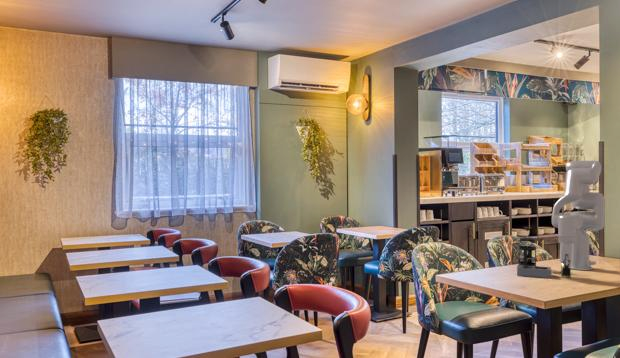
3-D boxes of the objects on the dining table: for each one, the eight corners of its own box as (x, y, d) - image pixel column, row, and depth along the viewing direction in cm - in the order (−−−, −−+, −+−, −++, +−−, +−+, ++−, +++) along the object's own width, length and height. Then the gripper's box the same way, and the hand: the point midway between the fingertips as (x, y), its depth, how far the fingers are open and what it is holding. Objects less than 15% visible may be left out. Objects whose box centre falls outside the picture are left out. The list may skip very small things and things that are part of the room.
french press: (533, 271, 280) (534, 228, 280) (515, 269, 286) (516, 227, 285) (539, 267, 289) (539, 226, 289) (521, 266, 295) (521, 225, 295)
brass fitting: (566, 276, 265) (566, 261, 265) (572, 278, 260) (572, 262, 260) (559, 277, 263) (559, 261, 263) (565, 279, 259) (565, 262, 259)
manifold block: (550, 274, 270) (550, 267, 270) (551, 278, 261) (551, 270, 261) (517, 272, 276) (517, 264, 276) (517, 275, 267) (517, 267, 267)
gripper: (557, 237, 271) (556, 270, 271) (558, 241, 255) (558, 276, 255) (573, 238, 268) (573, 271, 268) (575, 242, 252) (575, 278, 252)
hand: (565, 274), depth 262 cm, fingers open, 8 cm apart
